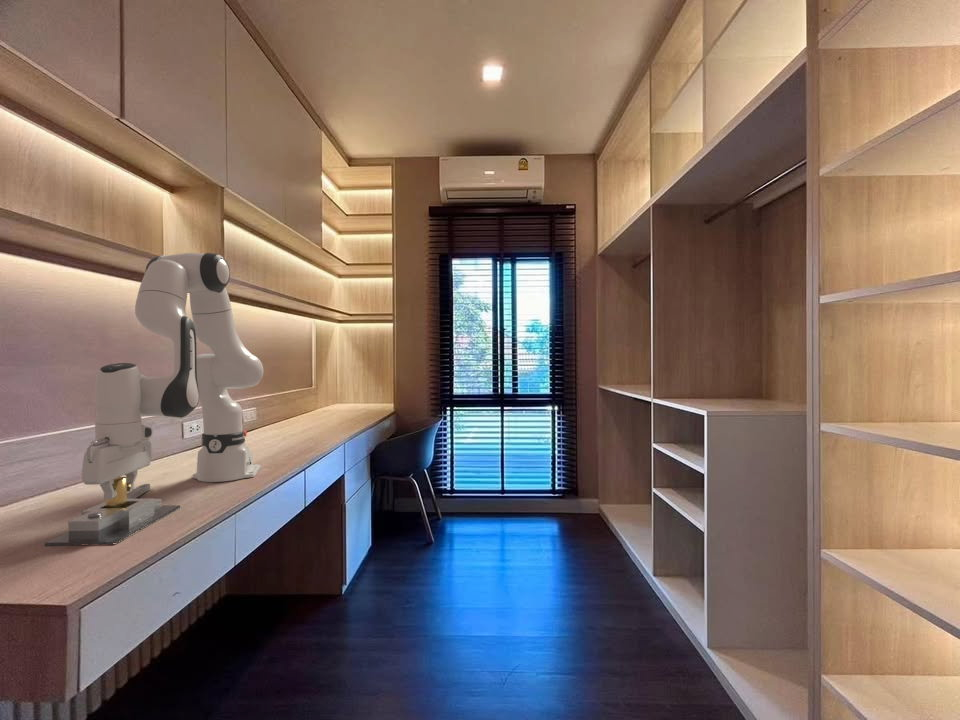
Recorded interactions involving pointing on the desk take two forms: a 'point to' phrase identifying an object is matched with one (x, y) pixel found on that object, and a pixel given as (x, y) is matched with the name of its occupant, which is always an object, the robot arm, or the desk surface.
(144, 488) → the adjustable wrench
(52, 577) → the desk surface
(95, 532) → the sliding bolt latch
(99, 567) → the desk surface
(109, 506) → the brass pin
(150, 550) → the desk surface
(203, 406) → the robot arm
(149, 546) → the desk surface
